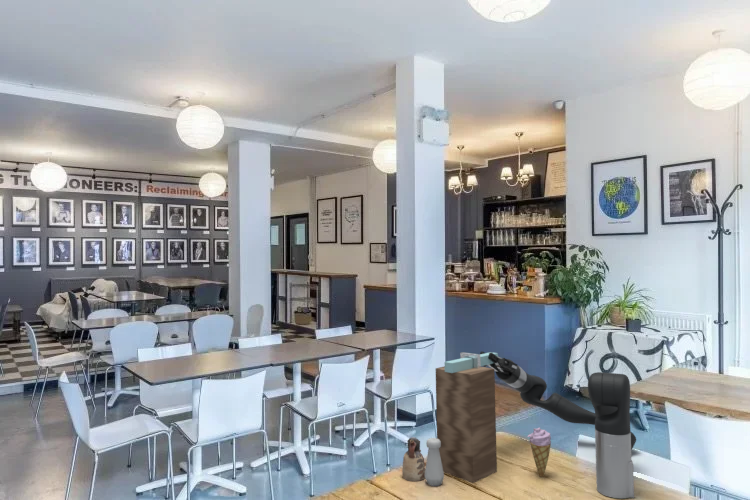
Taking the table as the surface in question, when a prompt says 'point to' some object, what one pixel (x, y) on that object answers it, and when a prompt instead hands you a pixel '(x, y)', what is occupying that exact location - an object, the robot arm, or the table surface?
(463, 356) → the arch
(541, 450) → the ice cream cone
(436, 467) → the salt shaker
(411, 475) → the figurine
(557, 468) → the table surface
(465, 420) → the plinth
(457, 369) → the peg
